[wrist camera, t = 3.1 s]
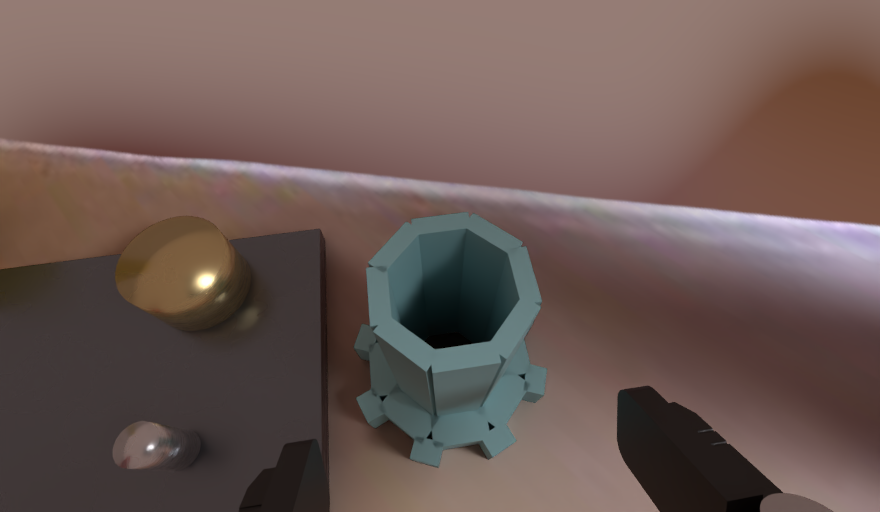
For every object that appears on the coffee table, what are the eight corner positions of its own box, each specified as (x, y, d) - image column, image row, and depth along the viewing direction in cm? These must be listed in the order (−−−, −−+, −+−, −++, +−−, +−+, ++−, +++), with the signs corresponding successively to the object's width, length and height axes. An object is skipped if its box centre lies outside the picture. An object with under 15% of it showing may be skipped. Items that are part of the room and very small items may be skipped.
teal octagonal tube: (512, 279, 23) (555, 154, 14) (556, 448, 19) (655, 419, 10) (357, 301, 22) (301, 184, 14) (367, 479, 18) (296, 478, 9)
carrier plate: (325, 239, 24) (303, 196, 20) (332, 677, 15) (295, 741, 11) (20, 279, 23) (-60, 240, 19) (-169, 776, 14) (-387, 881, 10)
